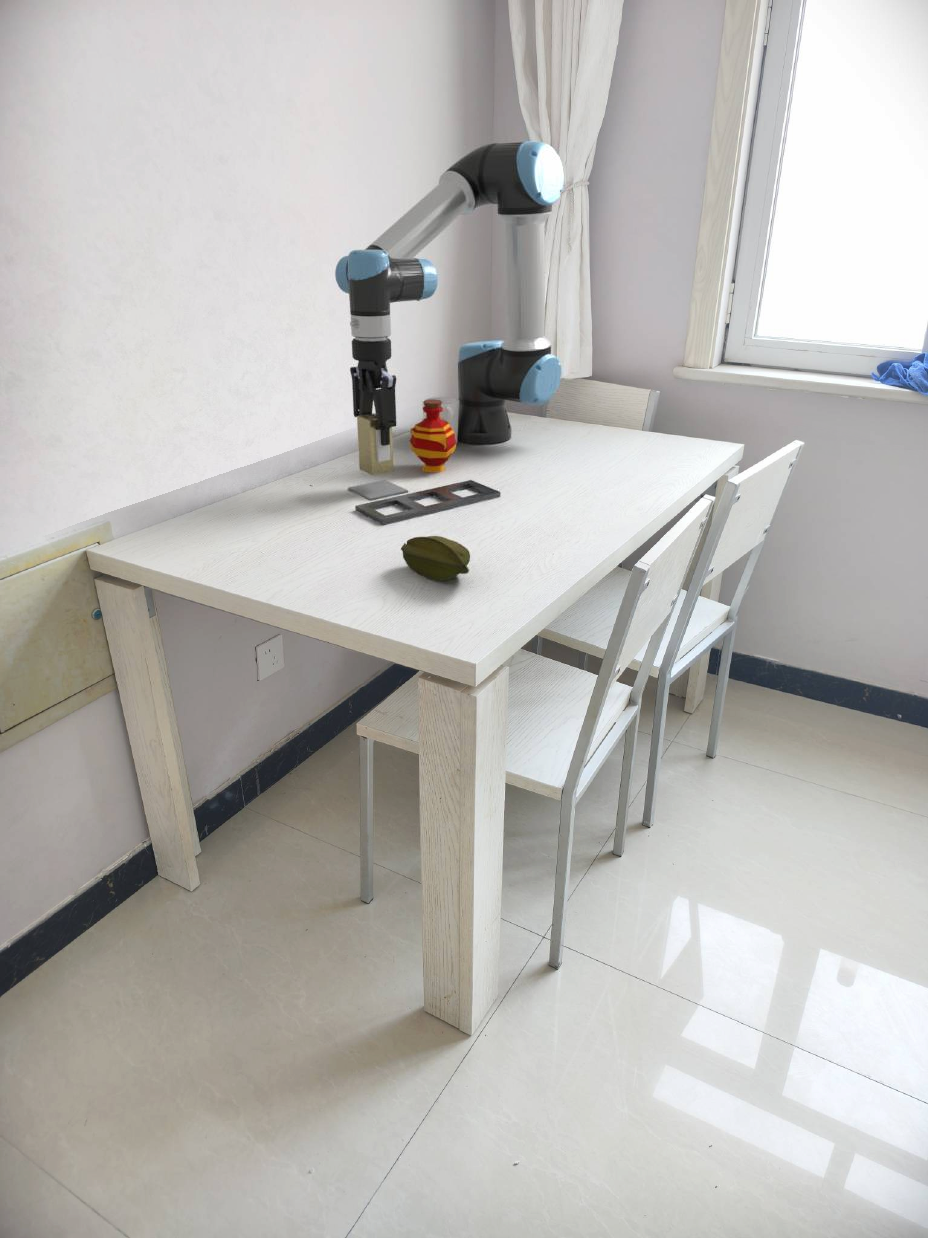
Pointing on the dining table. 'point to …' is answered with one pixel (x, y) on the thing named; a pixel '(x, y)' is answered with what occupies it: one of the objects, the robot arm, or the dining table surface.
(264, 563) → the dining table surface
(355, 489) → the pad
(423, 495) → the grey triple frame
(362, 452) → the brass block with knob
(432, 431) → the potion bottle
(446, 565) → the fruit
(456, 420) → the mug
